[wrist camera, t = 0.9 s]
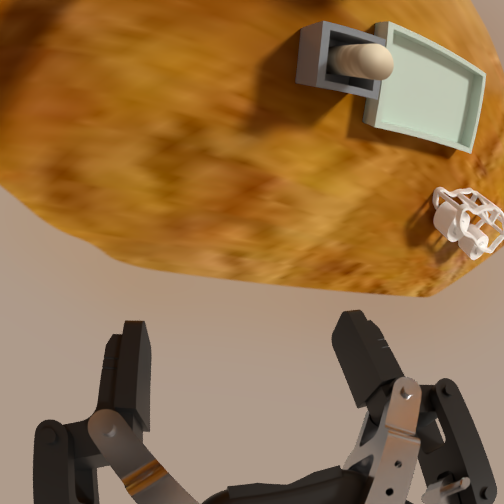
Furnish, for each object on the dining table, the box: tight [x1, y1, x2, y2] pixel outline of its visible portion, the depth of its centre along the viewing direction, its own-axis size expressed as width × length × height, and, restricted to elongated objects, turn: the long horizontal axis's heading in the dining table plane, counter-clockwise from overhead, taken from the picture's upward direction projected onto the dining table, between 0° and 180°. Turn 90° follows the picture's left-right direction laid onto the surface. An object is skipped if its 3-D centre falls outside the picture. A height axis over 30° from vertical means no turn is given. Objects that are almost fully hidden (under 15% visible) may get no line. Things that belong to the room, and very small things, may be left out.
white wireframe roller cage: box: [433, 187, 504, 260], centre depth 41 cm, size 20×11×7 cm, turn 63°
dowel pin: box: [326, 44, 394, 80], centre depth 22 cm, size 3×3×10 cm
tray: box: [362, 21, 486, 154], centre depth 29 cm, size 14×20×3 cm
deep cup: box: [295, 21, 386, 100], centre depth 25 cm, size 7×7×6 cm
